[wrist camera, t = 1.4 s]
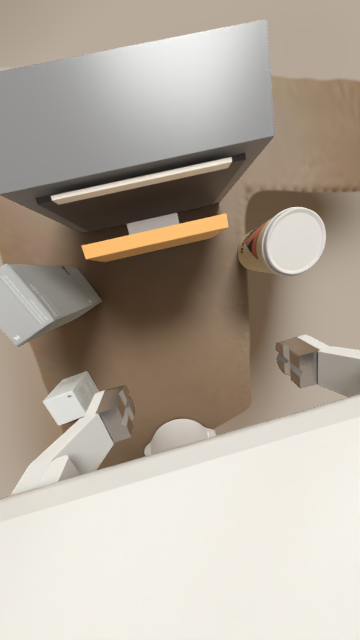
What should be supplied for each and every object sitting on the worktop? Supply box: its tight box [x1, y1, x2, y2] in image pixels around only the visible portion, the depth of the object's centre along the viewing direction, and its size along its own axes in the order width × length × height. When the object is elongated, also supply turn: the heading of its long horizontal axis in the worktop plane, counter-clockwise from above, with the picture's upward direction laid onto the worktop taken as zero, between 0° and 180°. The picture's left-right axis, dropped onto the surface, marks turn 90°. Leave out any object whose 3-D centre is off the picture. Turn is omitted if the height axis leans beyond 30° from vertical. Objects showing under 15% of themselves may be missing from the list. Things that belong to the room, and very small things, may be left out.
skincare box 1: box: [0, 264, 102, 347], centre depth 29 cm, size 8×7×16 cm
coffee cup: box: [238, 207, 326, 277], centre depth 32 cm, size 9×9×12 cm
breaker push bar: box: [81, 213, 228, 262], centre depth 23 cm, size 3×16×7 cm, turn 103°
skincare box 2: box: [43, 371, 99, 425], centre depth 38 cm, size 6×6×7 cm
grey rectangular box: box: [0, 19, 275, 233], centre depth 25 cm, size 9×26×18 cm, turn 102°
